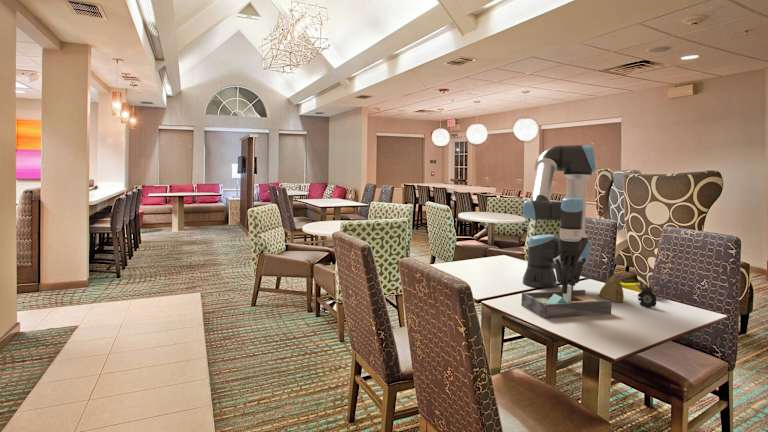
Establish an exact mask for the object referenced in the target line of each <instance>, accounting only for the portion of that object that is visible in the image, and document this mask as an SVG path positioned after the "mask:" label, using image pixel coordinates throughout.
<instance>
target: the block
mask: <svg viewBox="0 0 768 432" xmlns="http://www.w3.org/2000/svg"><path fill="white" fill-rule="evenodd" d="M555 303H567V302H566V301H565V300H564V299H563V298H562V297H561V296H558V295H556V294H553V295H552V297H551V298H550V299H549V300H548V301H547V302H546V304H555Z"/></svg>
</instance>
